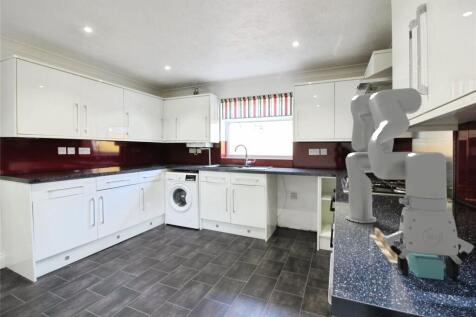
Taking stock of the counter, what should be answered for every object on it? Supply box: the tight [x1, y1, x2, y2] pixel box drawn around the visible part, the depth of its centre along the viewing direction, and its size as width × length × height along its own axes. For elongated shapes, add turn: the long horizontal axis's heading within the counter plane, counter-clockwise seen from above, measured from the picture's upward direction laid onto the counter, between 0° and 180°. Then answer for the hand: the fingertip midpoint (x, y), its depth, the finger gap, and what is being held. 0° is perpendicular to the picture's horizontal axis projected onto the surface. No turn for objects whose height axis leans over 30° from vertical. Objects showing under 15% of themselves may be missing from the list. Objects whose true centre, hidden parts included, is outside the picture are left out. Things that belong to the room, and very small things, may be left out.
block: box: [408, 252, 445, 281], centre depth 54 cm, size 6×5×5 cm
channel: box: [369, 227, 445, 269], centre depth 69 cm, size 22×12×4 cm, turn 162°
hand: (426, 275), depth 53 cm, fingers open, 9 cm apart
